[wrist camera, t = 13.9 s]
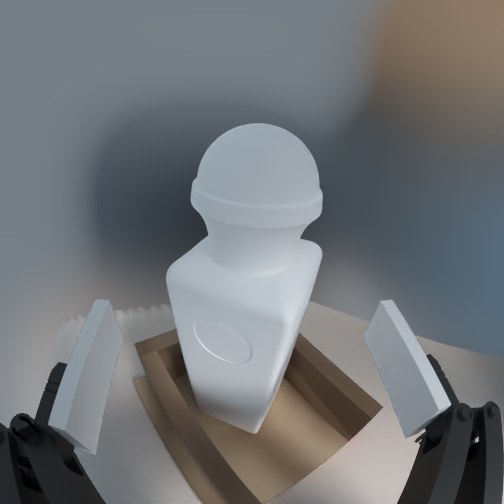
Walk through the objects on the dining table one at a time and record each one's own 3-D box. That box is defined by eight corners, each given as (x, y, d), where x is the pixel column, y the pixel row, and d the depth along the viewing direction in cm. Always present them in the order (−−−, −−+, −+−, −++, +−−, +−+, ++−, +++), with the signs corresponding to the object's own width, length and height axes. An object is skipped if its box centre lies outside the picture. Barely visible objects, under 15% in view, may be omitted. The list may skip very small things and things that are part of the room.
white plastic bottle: (190, 411, 21) (150, 125, 9) (223, 361, 26) (230, 115, 14) (258, 441, 19) (328, 144, 7) (285, 385, 24) (346, 132, 12)
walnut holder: (265, 330, 31) (271, 291, 28) (365, 425, 21) (393, 396, 17) (135, 385, 23) (118, 349, 20) (222, 525, 12) (219, 527, 9)
